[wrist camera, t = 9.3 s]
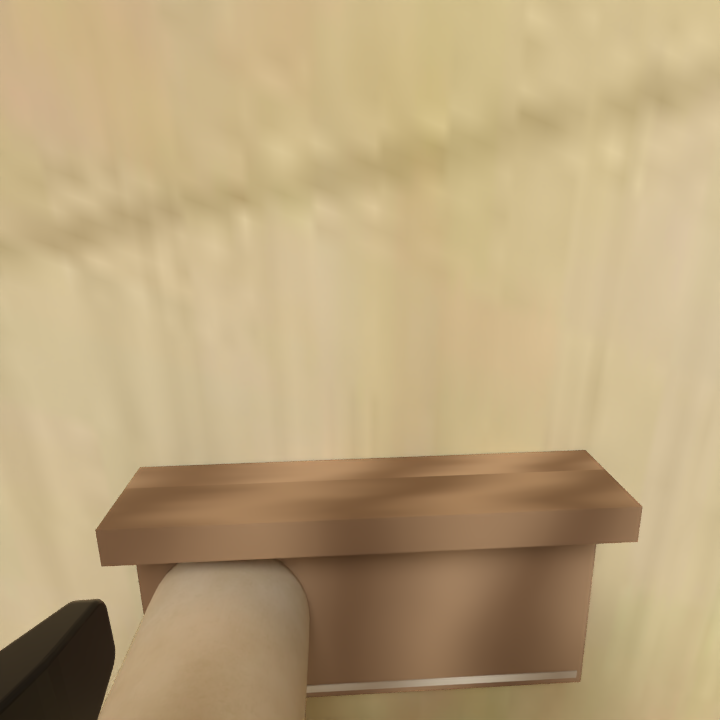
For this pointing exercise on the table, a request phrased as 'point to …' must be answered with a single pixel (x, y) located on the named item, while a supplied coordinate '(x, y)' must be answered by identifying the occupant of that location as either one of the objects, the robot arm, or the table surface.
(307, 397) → the table surface
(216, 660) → the candle
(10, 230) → the table surface
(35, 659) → the robot arm
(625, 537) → the board
